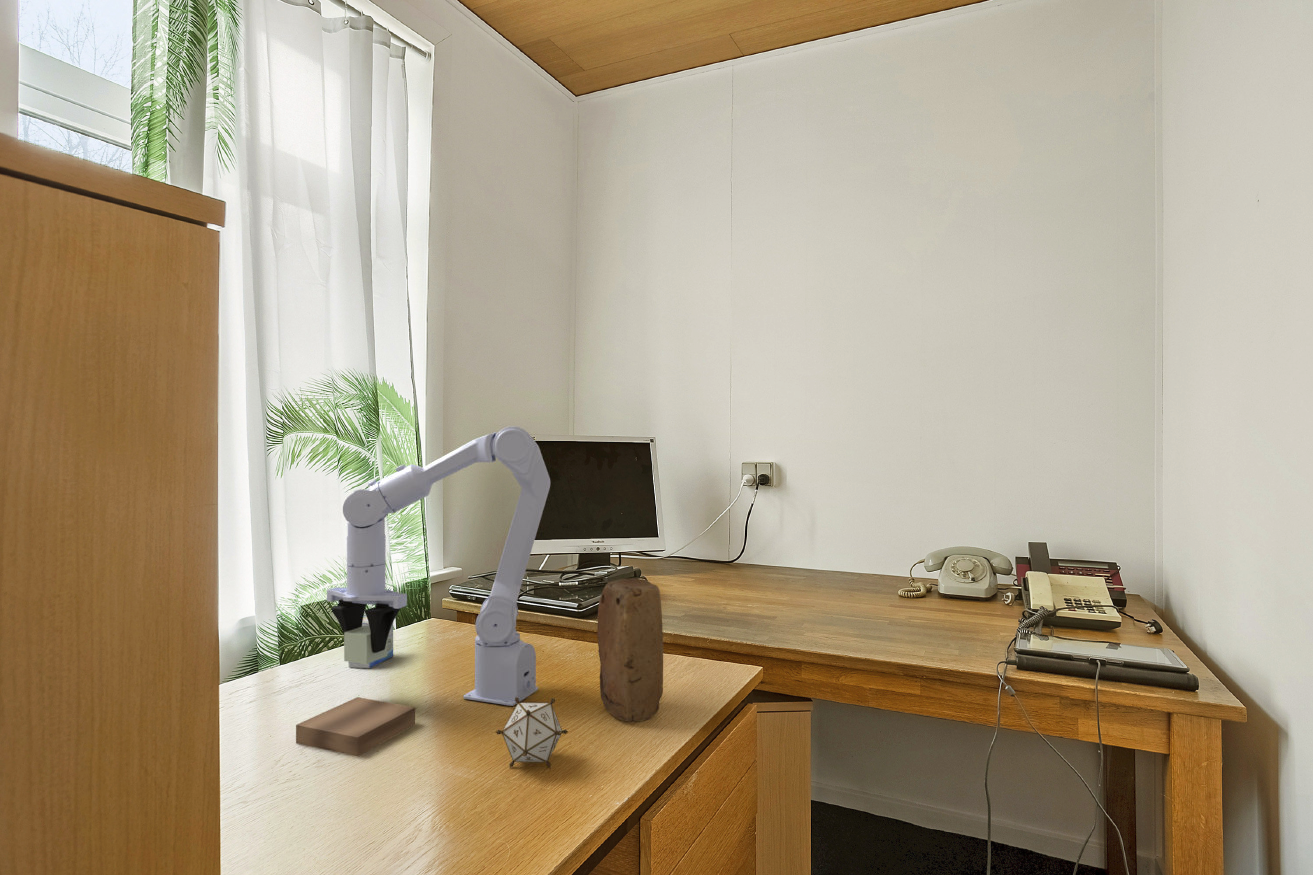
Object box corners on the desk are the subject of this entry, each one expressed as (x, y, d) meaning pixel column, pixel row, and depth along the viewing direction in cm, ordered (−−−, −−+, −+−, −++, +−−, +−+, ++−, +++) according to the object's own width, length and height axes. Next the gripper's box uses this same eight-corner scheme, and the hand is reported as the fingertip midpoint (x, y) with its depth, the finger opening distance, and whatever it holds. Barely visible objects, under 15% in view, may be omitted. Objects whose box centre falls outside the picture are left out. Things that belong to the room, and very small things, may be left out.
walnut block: (415, 727, 100) (415, 707, 100) (357, 760, 90) (357, 737, 90) (357, 716, 104) (357, 696, 104) (295, 746, 94) (295, 724, 94)
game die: (535, 799, 86) (524, 757, 80) (490, 759, 91) (477, 717, 85) (583, 744, 92) (576, 702, 86) (538, 710, 96) (529, 667, 90)
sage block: (387, 655, 111) (387, 627, 111) (366, 664, 106) (366, 635, 106) (365, 652, 112) (365, 625, 112) (344, 660, 108) (344, 632, 108)
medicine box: (369, 669, 125) (369, 622, 125) (347, 667, 126) (347, 620, 126) (393, 656, 133) (394, 611, 133) (373, 655, 134) (373, 610, 134)
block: (667, 718, 103) (667, 585, 103) (623, 729, 99) (623, 590, 99) (633, 695, 112) (633, 573, 112) (591, 704, 108) (591, 577, 108)
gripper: (311, 565, 108) (311, 651, 108) (384, 571, 103) (383, 661, 103) (346, 558, 115) (345, 639, 115) (416, 563, 110) (415, 648, 110)
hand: (366, 649), depth 109 cm, fingers closed on sage block, 4 cm apart
